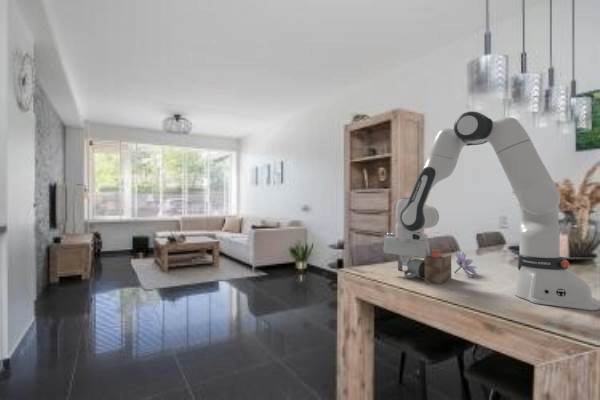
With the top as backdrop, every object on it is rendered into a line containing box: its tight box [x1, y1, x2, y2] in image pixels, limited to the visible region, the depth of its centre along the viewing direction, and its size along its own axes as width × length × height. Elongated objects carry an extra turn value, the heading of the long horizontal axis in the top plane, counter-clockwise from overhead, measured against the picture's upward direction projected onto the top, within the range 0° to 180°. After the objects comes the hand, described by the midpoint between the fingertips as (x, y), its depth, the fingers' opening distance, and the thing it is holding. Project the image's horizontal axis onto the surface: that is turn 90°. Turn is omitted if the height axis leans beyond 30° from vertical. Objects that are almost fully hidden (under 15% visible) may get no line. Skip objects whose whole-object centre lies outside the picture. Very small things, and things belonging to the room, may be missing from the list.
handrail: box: [397, 258, 407, 271], centre depth 149 cm, size 19×2×5 cm, turn 48°
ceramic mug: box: [403, 258, 425, 280], centre depth 139 cm, size 11×8×8 cm
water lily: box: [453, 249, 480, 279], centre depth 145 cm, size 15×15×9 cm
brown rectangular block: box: [423, 253, 452, 286], centre depth 134 cm, size 6×14×10 cm, turn 138°
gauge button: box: [430, 248, 441, 258], centre depth 132 cm, size 3×3×6 cm
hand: (405, 265), depth 144 cm, fingers closed
